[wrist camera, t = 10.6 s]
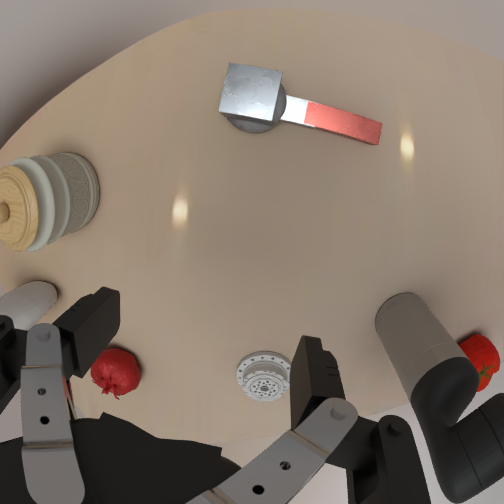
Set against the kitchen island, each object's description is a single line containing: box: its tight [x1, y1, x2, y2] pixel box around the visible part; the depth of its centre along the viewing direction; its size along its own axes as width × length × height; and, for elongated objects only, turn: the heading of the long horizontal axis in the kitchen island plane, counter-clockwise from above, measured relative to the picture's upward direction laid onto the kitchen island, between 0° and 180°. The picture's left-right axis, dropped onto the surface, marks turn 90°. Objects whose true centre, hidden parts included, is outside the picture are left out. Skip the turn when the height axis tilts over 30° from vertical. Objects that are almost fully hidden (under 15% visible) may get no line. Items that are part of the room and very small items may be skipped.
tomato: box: [459, 335, 500, 392], centre depth 42 cm, size 11×12×9 cm
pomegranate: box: [91, 348, 141, 399], centre depth 48 cm, size 10×10×9 cm
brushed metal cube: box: [218, 63, 282, 126], centre depth 30 cm, size 6×6×6 cm
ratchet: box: [227, 84, 382, 145], centre depth 33 cm, size 20×8×7 cm, turn 78°
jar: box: [0, 153, 99, 252], centre depth 33 cm, size 13×13×18 cm
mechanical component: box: [236, 351, 291, 402], centre depth 48 cm, size 10×4×10 cm
